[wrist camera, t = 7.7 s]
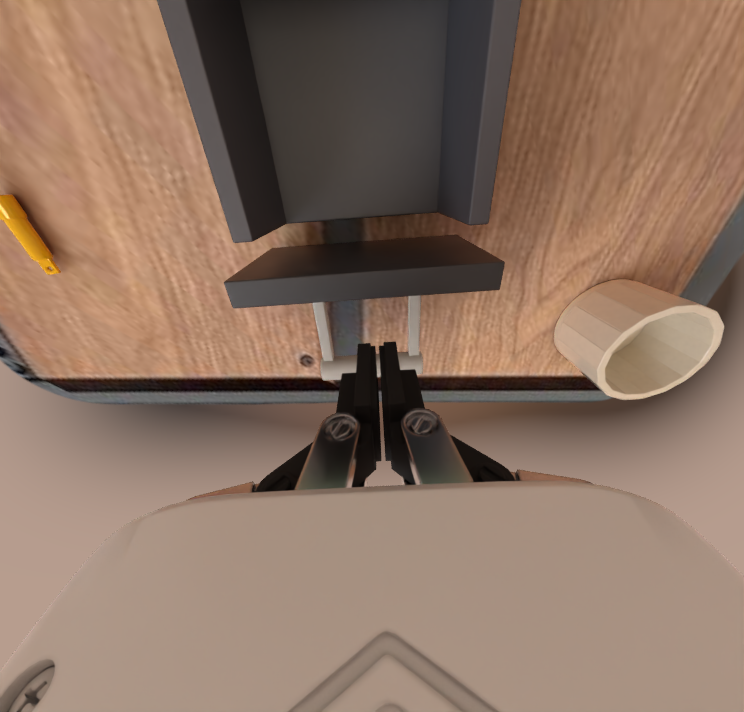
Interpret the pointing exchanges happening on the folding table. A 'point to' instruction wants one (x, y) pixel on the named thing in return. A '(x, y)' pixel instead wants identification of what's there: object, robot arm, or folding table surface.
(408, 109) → the dark grey drawer
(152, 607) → the robot arm
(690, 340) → the ramekin
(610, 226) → the folding table surface
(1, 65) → the folding table surface
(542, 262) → the folding table surface
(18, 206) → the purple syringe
